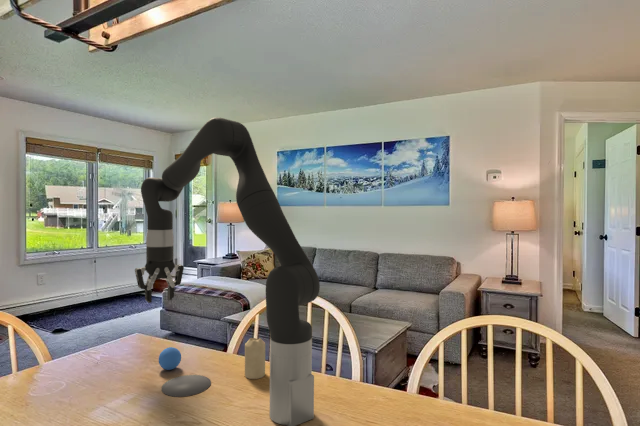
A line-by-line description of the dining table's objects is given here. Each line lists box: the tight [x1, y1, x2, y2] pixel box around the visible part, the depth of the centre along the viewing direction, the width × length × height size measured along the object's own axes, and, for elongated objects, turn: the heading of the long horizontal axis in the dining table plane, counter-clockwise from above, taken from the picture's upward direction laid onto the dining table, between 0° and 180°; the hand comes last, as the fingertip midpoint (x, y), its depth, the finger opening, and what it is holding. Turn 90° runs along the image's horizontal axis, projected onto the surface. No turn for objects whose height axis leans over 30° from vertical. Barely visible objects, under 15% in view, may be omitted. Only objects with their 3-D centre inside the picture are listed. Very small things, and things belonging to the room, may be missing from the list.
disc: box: [161, 374, 212, 398], centre depth 101 cm, size 12×12×1 cm
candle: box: [244, 337, 266, 380], centre depth 108 cm, size 6×6×10 cm
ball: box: [158, 346, 182, 371], centre depth 111 cm, size 6×6×6 cm
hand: (159, 300), depth 119 cm, fingers open, 5 cm apart
